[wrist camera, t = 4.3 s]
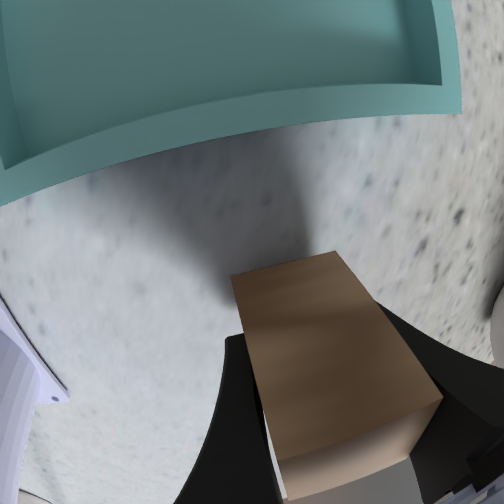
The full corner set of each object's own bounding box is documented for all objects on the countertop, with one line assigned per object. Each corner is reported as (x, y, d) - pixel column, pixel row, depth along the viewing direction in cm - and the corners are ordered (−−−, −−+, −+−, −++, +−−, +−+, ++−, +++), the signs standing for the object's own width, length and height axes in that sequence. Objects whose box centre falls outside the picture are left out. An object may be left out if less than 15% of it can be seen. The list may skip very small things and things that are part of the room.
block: (248, 349, 14) (288, 500, 8) (230, 275, 11) (277, 460, 5) (335, 326, 14) (406, 458, 8) (335, 250, 12) (443, 397, 6)
